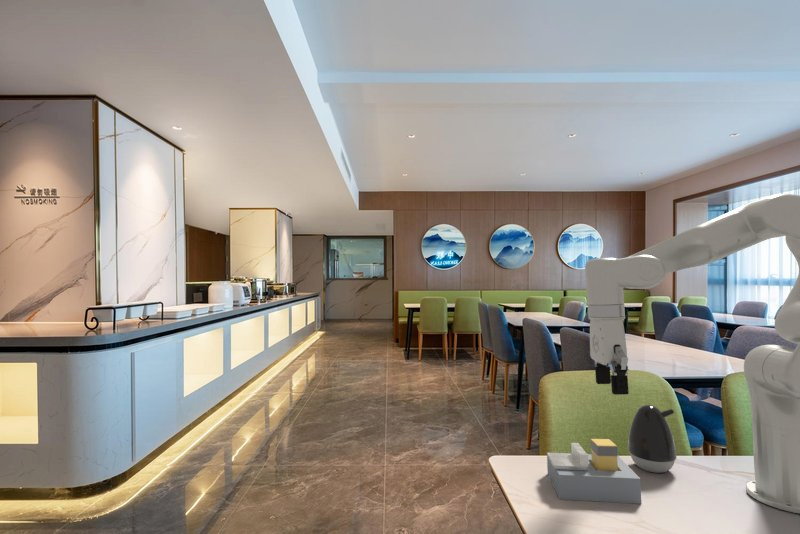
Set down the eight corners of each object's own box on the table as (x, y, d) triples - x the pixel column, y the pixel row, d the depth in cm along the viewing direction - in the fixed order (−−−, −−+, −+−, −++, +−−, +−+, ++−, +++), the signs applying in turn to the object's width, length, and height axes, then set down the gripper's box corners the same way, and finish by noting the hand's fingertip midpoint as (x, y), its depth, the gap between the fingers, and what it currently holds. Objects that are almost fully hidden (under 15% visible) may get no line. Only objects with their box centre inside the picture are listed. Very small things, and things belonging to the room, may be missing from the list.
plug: (610, 484, 94) (609, 439, 94) (619, 493, 89) (617, 445, 90) (592, 483, 94) (590, 438, 94) (599, 492, 90) (597, 445, 90)
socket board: (618, 477, 97) (617, 455, 97) (641, 503, 85) (640, 478, 85) (547, 473, 99) (546, 452, 99) (560, 499, 87) (559, 474, 87)
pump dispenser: (686, 479, 95) (683, 412, 96) (636, 475, 98) (634, 410, 98) (667, 461, 105) (664, 400, 106) (622, 458, 108) (620, 398, 108)
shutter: (578, 457, 96) (578, 442, 96) (588, 470, 89) (587, 454, 89) (547, 456, 97) (546, 441, 97) (554, 469, 90) (553, 453, 90)
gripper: (577, 311, 104) (582, 380, 103) (602, 315, 86) (608, 399, 85) (609, 309, 103) (614, 380, 102) (640, 314, 85) (647, 398, 84)
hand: (611, 388), depth 94 cm, fingers open, 9 cm apart
